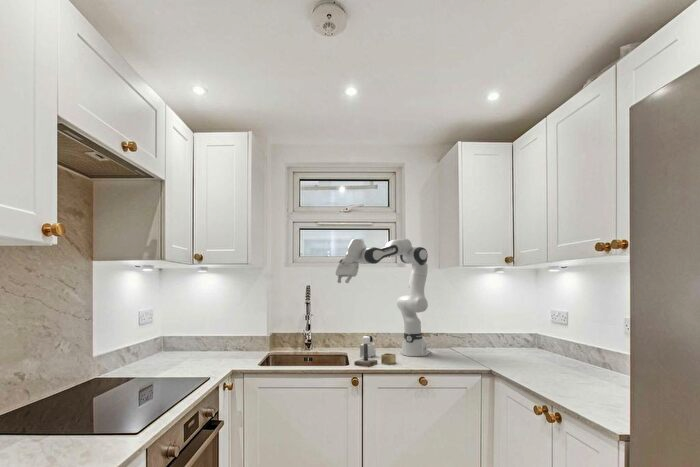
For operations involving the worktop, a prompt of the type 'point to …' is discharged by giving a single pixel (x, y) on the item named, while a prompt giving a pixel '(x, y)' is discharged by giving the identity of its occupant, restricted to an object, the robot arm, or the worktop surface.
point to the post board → (365, 358)
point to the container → (370, 346)
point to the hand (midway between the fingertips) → (342, 282)
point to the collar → (388, 358)
